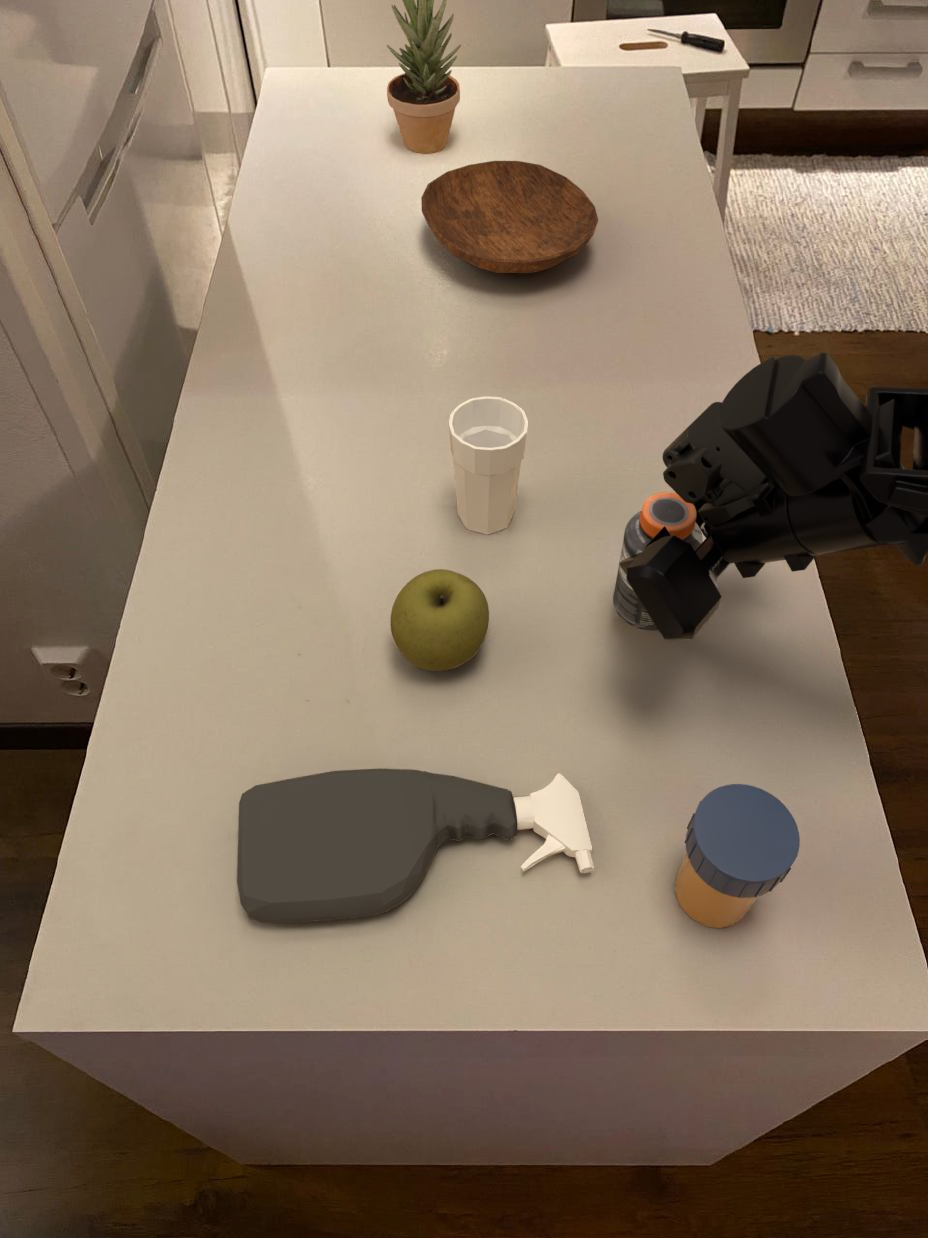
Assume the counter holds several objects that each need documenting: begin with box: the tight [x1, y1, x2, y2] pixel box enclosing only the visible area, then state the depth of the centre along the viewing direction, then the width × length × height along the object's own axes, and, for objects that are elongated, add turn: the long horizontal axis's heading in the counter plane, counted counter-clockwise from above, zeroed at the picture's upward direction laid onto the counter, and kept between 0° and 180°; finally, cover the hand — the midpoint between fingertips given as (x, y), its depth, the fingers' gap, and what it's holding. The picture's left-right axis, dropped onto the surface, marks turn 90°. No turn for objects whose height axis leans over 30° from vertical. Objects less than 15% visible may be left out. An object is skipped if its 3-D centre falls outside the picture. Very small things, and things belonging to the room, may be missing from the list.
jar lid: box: [684, 783, 801, 899], centre depth 59 cm, size 6×6×3 cm
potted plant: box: [386, 0, 462, 154], centre depth 119 cm, size 10×10×25 cm
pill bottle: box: [612, 491, 704, 632], centre depth 74 cm, size 6×6×11 cm
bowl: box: [420, 160, 599, 274], centre depth 112 cm, size 20×22×5 cm
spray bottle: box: [236, 768, 595, 923], centre depth 67 cm, size 3×11×25 cm
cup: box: [448, 395, 529, 536], centre depth 83 cm, size 7×7×11 cm
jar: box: [674, 853, 757, 929], centre depth 62 cm, size 5×5×10 cm
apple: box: [390, 568, 490, 672], centre depth 76 cm, size 8×8×7 cm
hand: (645, 543), depth 74 cm, fingers closed on pill bottle, 6 cm apart
